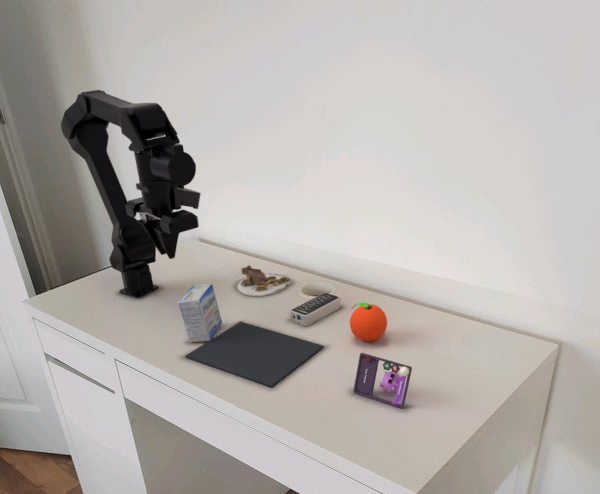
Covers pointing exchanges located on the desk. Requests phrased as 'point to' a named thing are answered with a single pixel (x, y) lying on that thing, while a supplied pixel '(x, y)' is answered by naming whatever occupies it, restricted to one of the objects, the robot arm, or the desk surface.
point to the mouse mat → (255, 353)
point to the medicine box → (200, 313)
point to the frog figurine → (261, 282)
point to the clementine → (368, 322)
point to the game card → (390, 379)
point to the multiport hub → (315, 309)
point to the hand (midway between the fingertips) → (167, 256)
